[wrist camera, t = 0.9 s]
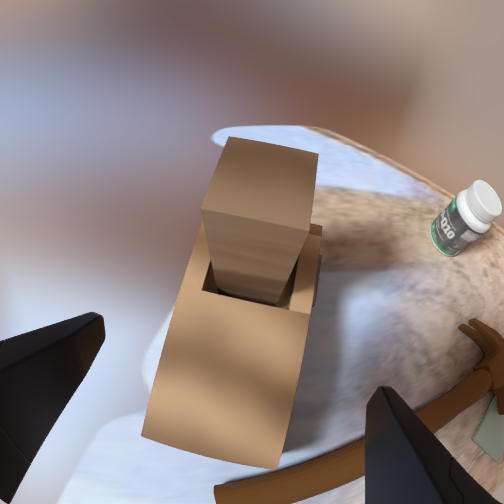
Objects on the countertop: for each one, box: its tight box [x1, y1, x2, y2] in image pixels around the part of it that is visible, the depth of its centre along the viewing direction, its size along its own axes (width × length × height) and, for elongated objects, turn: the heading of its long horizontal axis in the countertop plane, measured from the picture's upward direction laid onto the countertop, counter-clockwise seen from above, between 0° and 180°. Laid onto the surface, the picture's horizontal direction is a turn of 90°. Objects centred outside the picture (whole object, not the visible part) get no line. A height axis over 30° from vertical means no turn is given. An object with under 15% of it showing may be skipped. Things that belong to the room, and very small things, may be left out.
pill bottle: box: [430, 180, 502, 257], centre depth 23 cm, size 5×5×8 cm
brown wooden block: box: [201, 137, 318, 307], centre depth 18 cm, size 4×4×12 cm
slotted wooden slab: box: [141, 222, 322, 470], centre depth 20 cm, size 18×9×4 cm, turn 168°
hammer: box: [214, 319, 504, 504], centre depth 18 cm, size 12×3×30 cm
